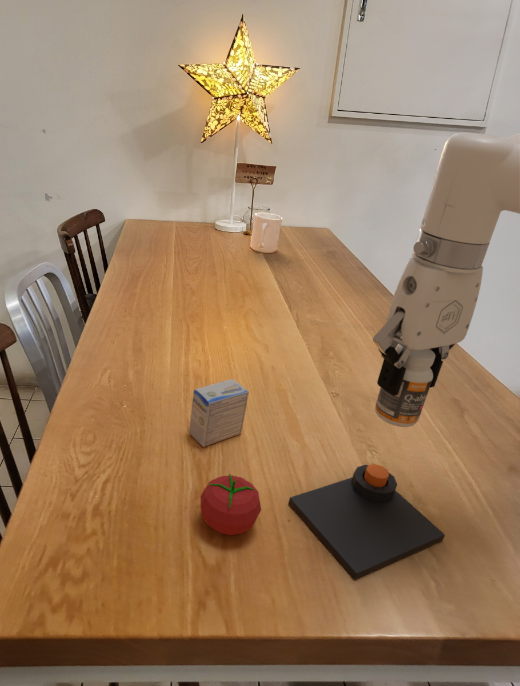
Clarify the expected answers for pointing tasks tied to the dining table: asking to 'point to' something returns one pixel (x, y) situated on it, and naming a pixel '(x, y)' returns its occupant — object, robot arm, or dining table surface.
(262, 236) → the mug
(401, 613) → the dining table surface
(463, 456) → the dining table surface
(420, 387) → the pill bottle
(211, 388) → the medicine box
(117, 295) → the dining table surface
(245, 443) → the dining table surface
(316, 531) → the scale
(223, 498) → the tomato
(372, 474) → the tare button
